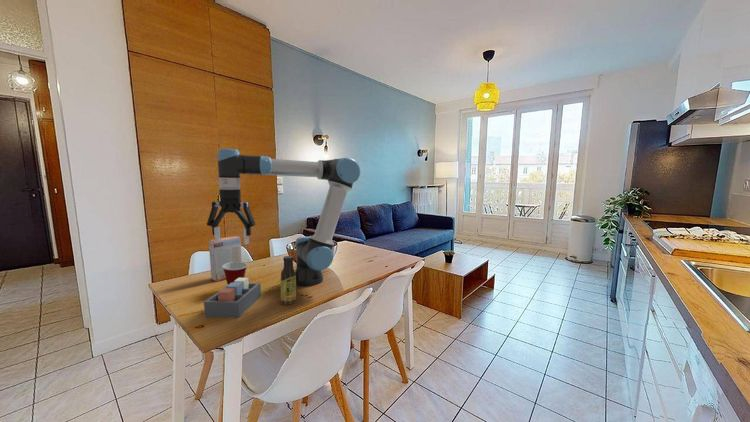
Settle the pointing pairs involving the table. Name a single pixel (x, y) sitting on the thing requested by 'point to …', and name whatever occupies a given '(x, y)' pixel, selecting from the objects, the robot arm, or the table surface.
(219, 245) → the cracker box
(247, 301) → the grey compartment tray
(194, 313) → the table surface
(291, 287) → the sauce bottle
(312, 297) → the table surface
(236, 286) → the light blue block
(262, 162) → the robot arm
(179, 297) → the table surface
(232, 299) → the salmon red block
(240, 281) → the white block
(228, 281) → the plastic cup
